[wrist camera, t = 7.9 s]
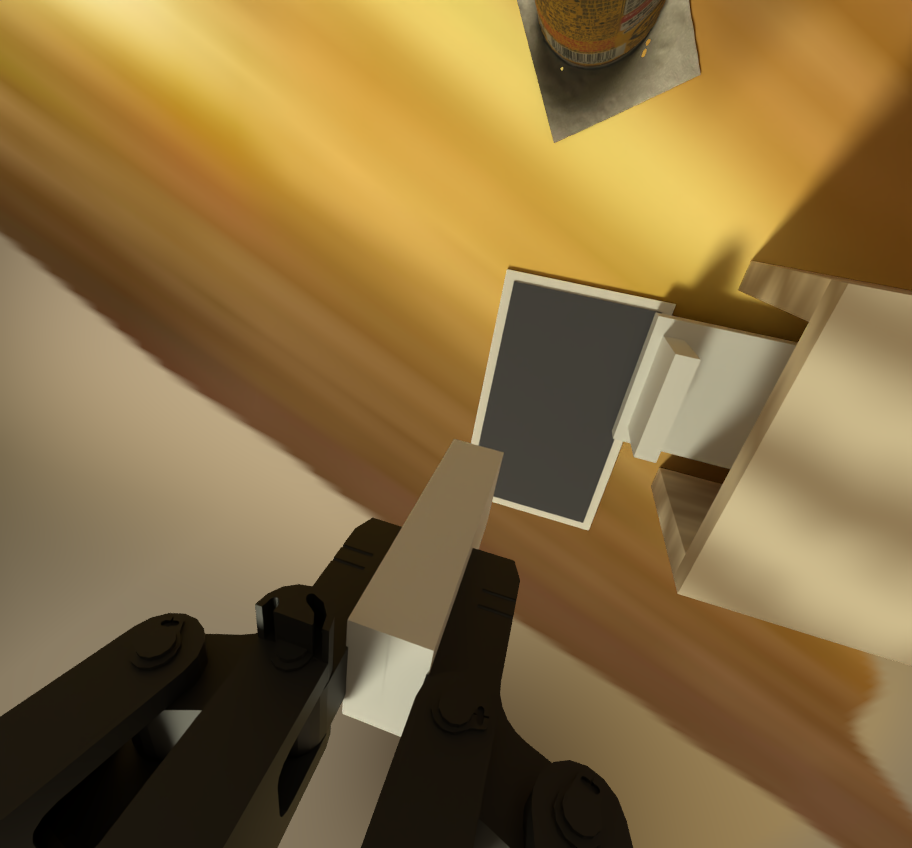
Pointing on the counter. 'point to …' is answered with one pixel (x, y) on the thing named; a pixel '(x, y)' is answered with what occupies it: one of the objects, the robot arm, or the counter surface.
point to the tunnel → (814, 477)
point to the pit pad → (559, 391)
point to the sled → (698, 390)
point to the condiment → (606, 55)
